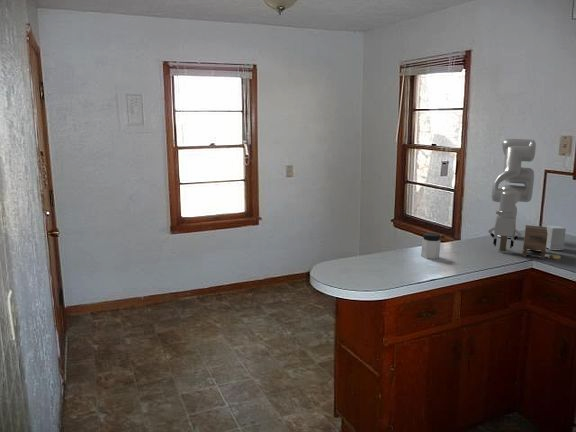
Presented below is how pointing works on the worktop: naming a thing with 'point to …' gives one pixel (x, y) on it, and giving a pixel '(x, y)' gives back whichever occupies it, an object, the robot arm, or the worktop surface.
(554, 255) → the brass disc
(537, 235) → the cabinet
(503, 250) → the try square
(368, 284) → the worktop surface
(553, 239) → the supplement box
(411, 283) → the worktop surface
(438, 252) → the jar
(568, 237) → the worktop surface
